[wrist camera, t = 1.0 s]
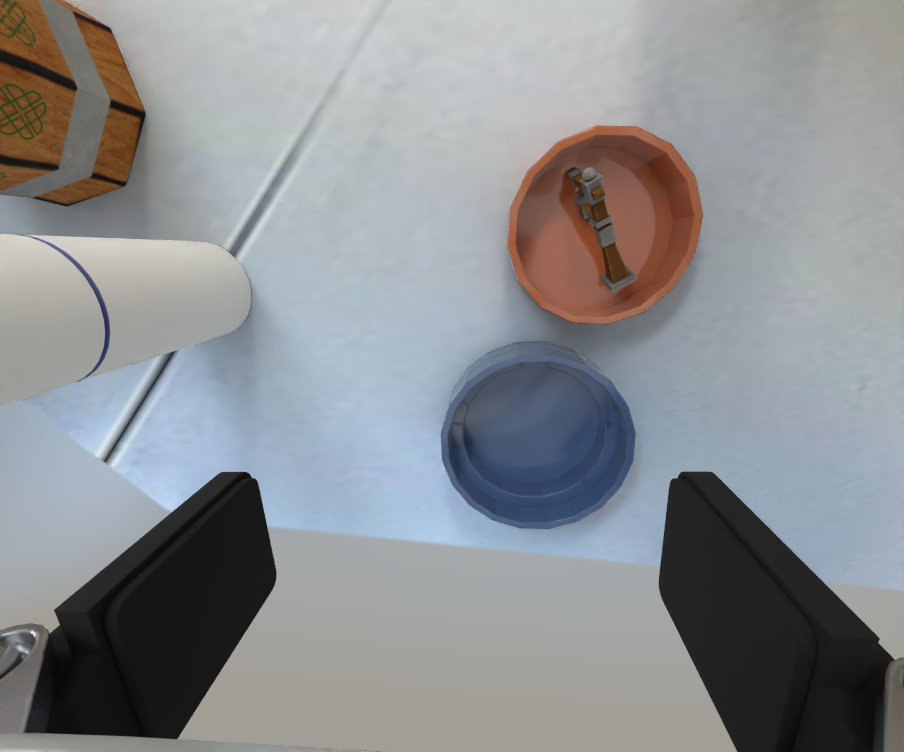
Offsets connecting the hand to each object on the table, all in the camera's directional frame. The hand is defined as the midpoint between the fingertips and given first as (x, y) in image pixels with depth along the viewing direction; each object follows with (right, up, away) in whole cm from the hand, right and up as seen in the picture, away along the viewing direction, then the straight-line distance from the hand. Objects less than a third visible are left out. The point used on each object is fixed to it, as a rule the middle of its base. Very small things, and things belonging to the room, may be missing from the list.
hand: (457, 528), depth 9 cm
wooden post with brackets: (+9, +13, +19) cm, 25 cm away
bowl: (+6, 0, +23) cm, 24 cm away
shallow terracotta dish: (+9, +13, +19) cm, 25 cm away
